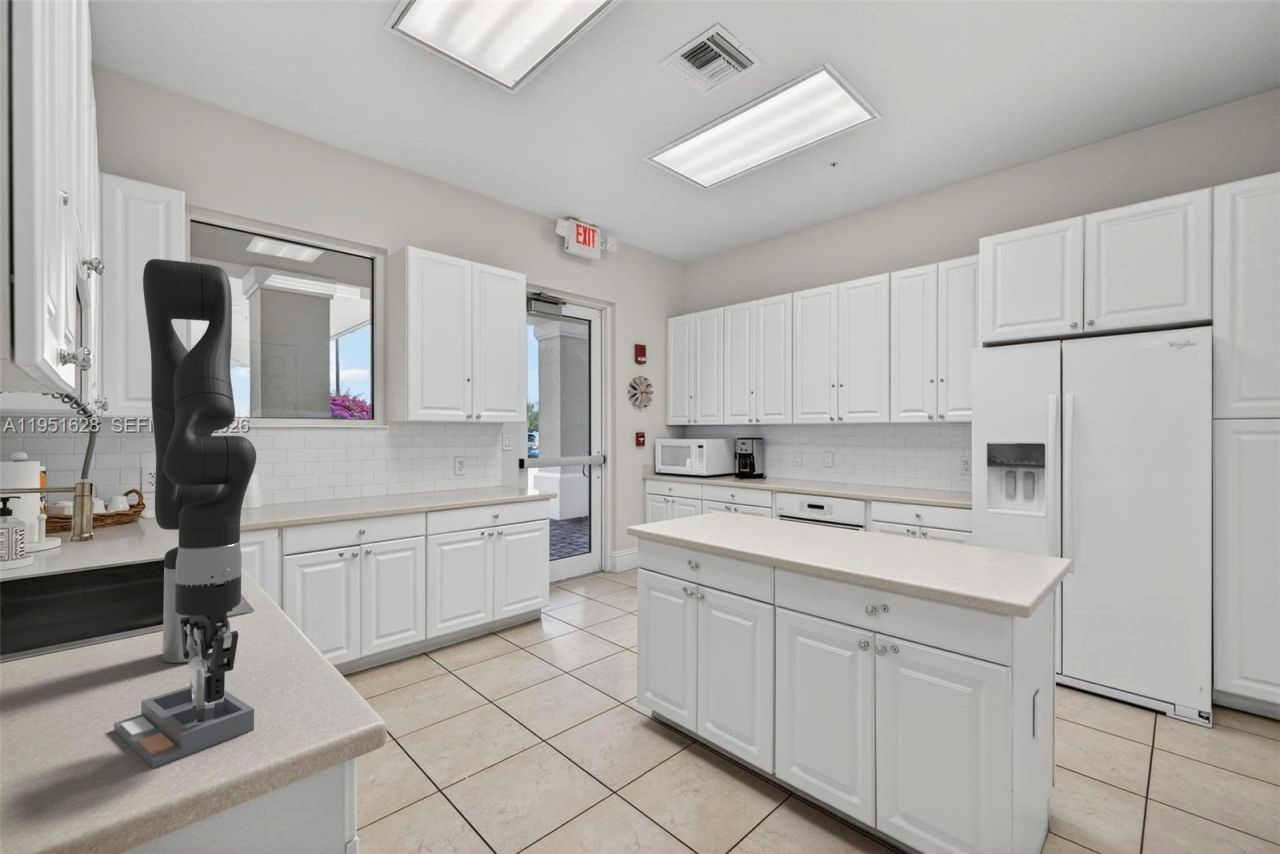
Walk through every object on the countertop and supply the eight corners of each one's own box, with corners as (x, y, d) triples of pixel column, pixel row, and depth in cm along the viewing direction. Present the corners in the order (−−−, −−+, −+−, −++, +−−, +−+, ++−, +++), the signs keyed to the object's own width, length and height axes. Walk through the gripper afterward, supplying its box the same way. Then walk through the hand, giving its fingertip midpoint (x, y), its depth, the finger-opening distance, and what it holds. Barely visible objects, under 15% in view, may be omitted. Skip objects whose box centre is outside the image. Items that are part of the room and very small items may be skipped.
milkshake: (181, 730, 78) (182, 658, 78) (193, 712, 83) (195, 643, 83) (221, 724, 80) (223, 653, 79) (231, 706, 84) (233, 639, 84)
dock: (114, 729, 82) (114, 708, 82) (209, 699, 91) (209, 680, 91) (152, 768, 73) (153, 744, 73) (253, 729, 82) (254, 709, 82)
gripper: (158, 573, 82) (156, 692, 82) (197, 589, 74) (194, 721, 74) (219, 563, 88) (217, 674, 88) (261, 577, 80) (259, 699, 80)
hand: (207, 695), depth 81 cm, fingers closed on milkshake, 4 cm apart
